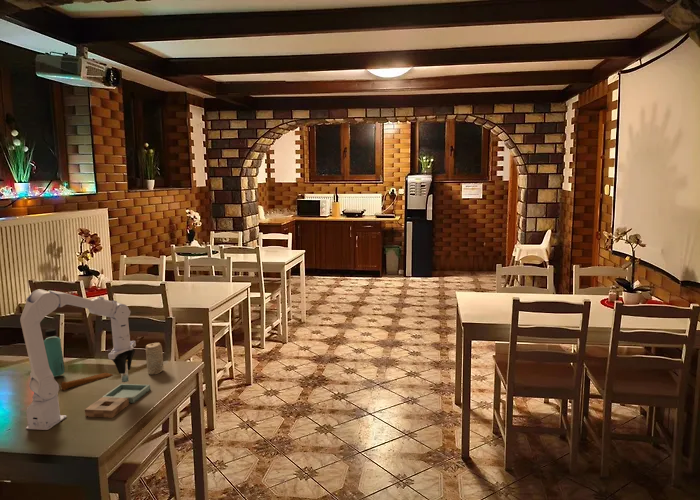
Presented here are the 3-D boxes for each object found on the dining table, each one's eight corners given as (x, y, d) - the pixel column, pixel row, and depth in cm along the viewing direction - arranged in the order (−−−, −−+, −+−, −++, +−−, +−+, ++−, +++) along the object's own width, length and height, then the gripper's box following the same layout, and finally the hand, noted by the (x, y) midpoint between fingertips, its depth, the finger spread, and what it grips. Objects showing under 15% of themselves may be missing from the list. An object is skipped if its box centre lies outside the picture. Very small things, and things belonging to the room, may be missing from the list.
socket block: (112, 417, 180) (111, 410, 180) (85, 416, 182) (84, 409, 181) (129, 404, 190) (128, 397, 190) (103, 403, 191) (102, 397, 191)
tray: (133, 403, 191) (132, 398, 190) (102, 402, 193) (101, 397, 192) (150, 389, 202) (150, 384, 202) (121, 388, 204) (120, 383, 204)
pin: (126, 382, 195) (125, 361, 194) (119, 382, 195) (117, 360, 194) (131, 379, 198) (129, 358, 197) (123, 379, 198) (122, 358, 197)
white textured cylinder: (145, 376, 216) (142, 347, 214) (150, 369, 224) (147, 341, 222) (161, 375, 217) (158, 346, 215) (166, 368, 224) (163, 340, 222)
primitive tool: (106, 373, 222) (105, 365, 221) (114, 376, 219) (113, 368, 218) (59, 390, 206) (58, 381, 206) (67, 393, 203) (66, 384, 202)
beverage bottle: (64, 378, 216) (59, 330, 213) (45, 381, 214) (39, 333, 211) (66, 373, 222) (61, 326, 219) (48, 375, 220) (42, 328, 217)
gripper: (119, 342, 186) (123, 379, 188) (141, 329, 201) (145, 364, 203) (101, 341, 187) (105, 378, 190) (124, 329, 202) (127, 364, 204)
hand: (124, 371), depth 196 cm, fingers closed on pin, 3 cm apart
